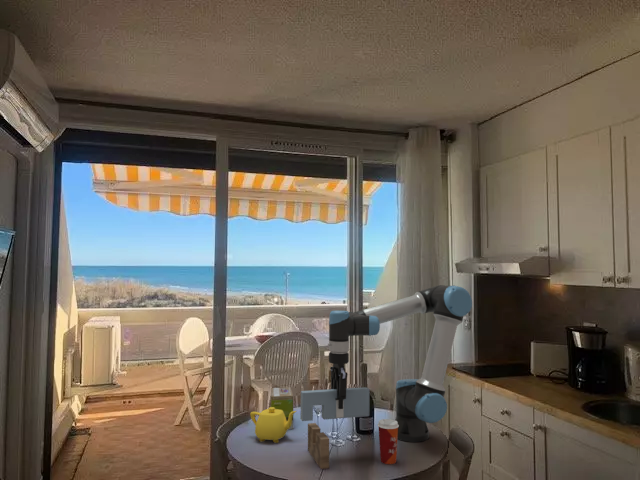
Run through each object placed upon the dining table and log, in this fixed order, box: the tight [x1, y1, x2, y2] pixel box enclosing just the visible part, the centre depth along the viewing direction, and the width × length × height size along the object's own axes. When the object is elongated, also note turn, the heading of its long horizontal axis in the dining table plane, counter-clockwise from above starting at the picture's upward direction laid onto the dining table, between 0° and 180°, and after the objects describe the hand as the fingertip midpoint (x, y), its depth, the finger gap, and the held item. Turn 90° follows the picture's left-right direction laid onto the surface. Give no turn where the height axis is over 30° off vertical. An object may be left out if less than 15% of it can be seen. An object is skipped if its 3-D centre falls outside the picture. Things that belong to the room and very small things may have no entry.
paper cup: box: [377, 418, 399, 465], centre depth 171 cm, size 8×8×14 cm
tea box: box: [270, 386, 294, 430], centre depth 212 cm, size 15×10×15 cm, turn 6°
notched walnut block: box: [307, 422, 330, 470], centre depth 173 cm, size 18×3×10 cm, turn 16°
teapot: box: [249, 406, 297, 444], centre depth 194 cm, size 13×20×12 cm
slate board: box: [300, 386, 370, 422], centre depth 176 cm, size 26×3×10 cm, turn 106°
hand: (338, 415), depth 176 cm, fingers closed on slate board, 3 cm apart
